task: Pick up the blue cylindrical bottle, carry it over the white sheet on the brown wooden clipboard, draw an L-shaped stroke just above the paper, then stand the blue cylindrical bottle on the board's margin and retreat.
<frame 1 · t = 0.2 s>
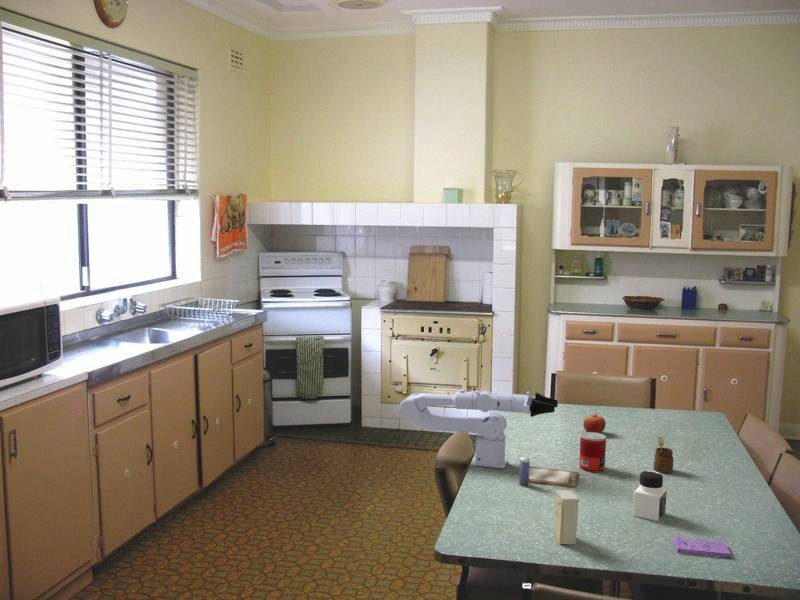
hand: (556, 406, 249), 21 cm above the table, tool horizontal, fingers open, 7 cm apart
medicine bottle: (649, 515, 218), on the table
skincare box: (564, 540, 201), on the table
apple: (594, 434, 293), on the table
blue cylindrical bottle: (523, 484, 239), on the table
sponges: (701, 552, 197), on the table
utensil holder: (662, 471, 254), on the table
canned food: (591, 469, 255), on the table
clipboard: (550, 477, 246), on the table
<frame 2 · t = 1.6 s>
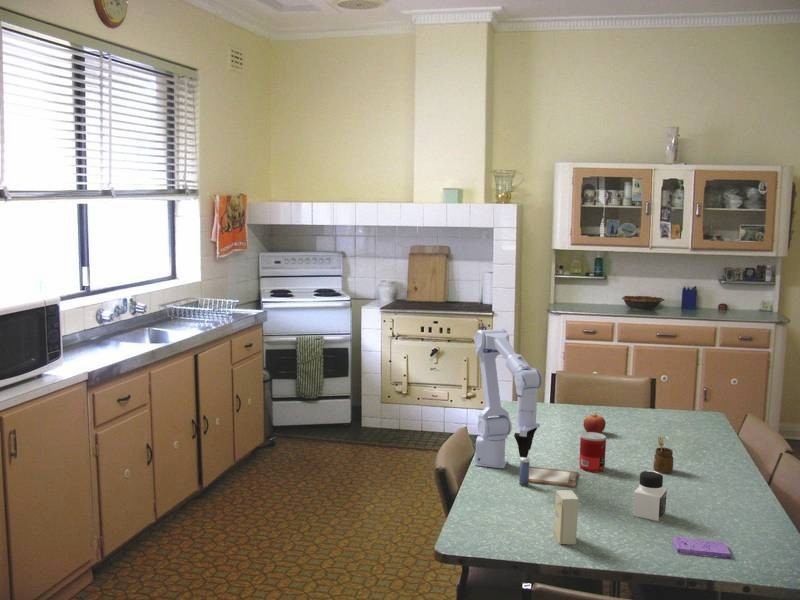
hand: (525, 453, 238), 10 cm above the table, tool pointing down, fingers open, 7 cm apart
nothing on the table moved.
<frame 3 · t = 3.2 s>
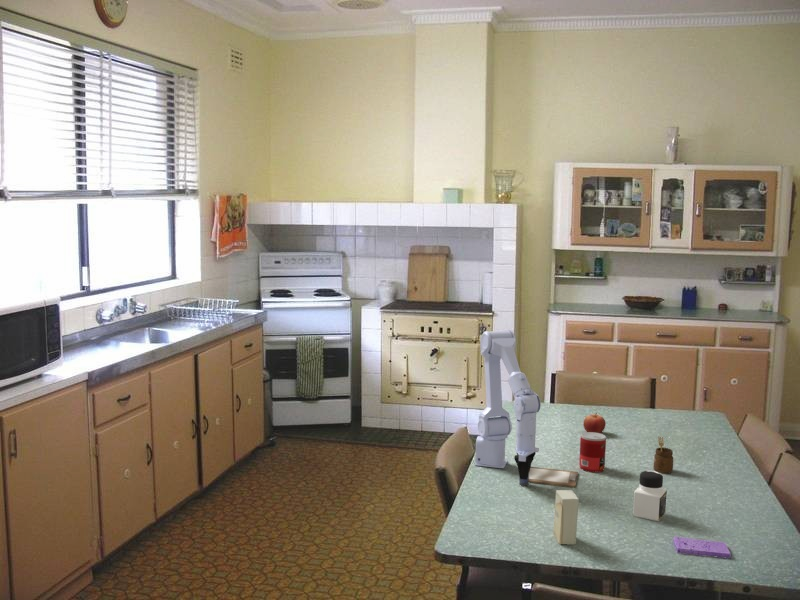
hand: (524, 477, 239), 2 cm above the table, tool pointing down, fingers closed on blue cylindrical bottle, 3 cm apart
blue cylindrical bottle: (523, 484, 239), on the table, touching gripper
everything else where it was.
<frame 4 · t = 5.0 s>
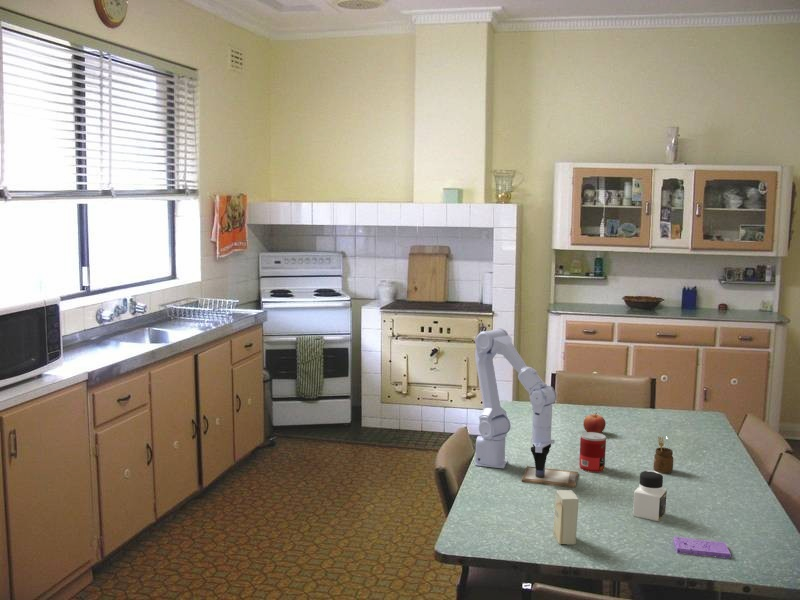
hand: (540, 468, 244), 3 cm above the table, tool pointing down, fingers closed on blue cylindrical bottle, 3 cm apart
blue cylindrical bottle: (540, 476, 245), point 1 cm above the table, touching gripper
everything else where it was.
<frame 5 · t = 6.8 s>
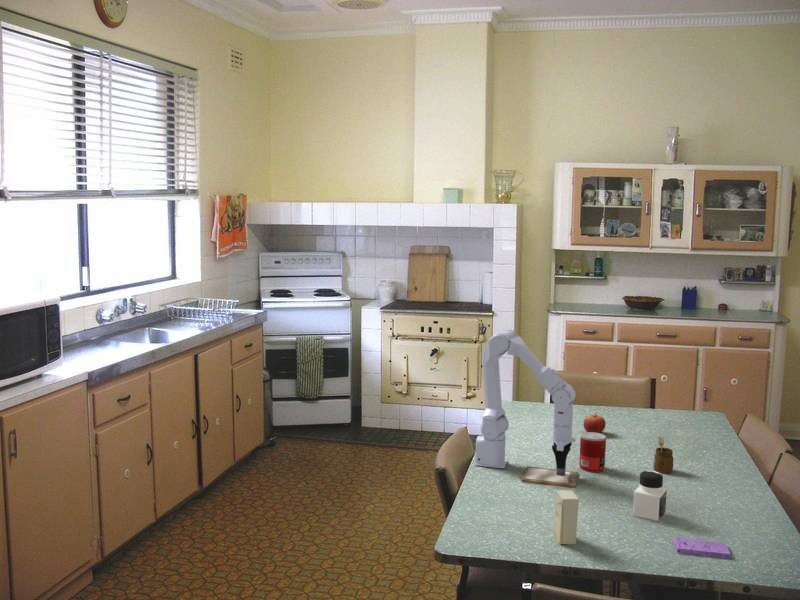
hand: (560, 466, 247), 3 cm above the table, tool pointing down, fingers closed on blue cylindrical bottle, 3 cm apart
blue cylindrical bottle: (560, 474, 247), point 1 cm above the table, touching gripper
everything else where it was.
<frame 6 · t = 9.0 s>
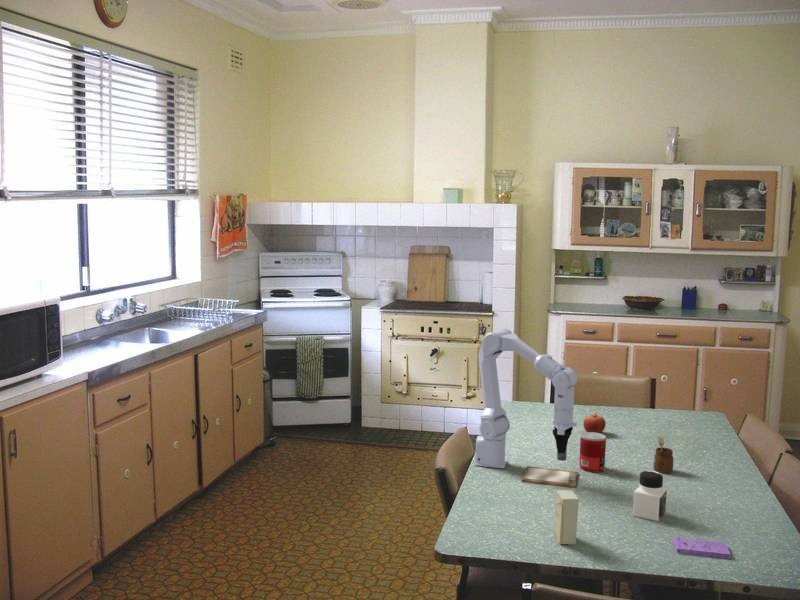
hand: (561, 451, 242), 9 cm above the table, tool pointing down, fingers closed on blue cylindrical bottle, 3 cm apart
blue cylindrical bottle: (561, 459, 242), point 7 cm above the table, touching gripper
everything else where it was.
when the fingers open (3 cm above the table, at t = 10.8 s): blue cylindrical bottle stays where it is, resting on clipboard.
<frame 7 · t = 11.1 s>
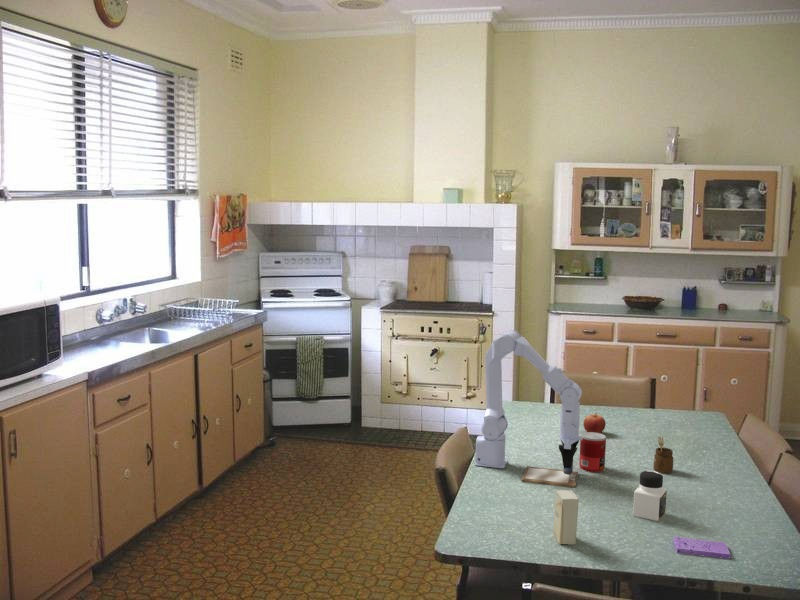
hand: (568, 464, 248), 3 cm above the table, tool pointing down, fingers open, 6 cm apart
blue cylindrical bottle: (567, 473, 248), point 1 cm above the table, touching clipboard
everything else where it was.
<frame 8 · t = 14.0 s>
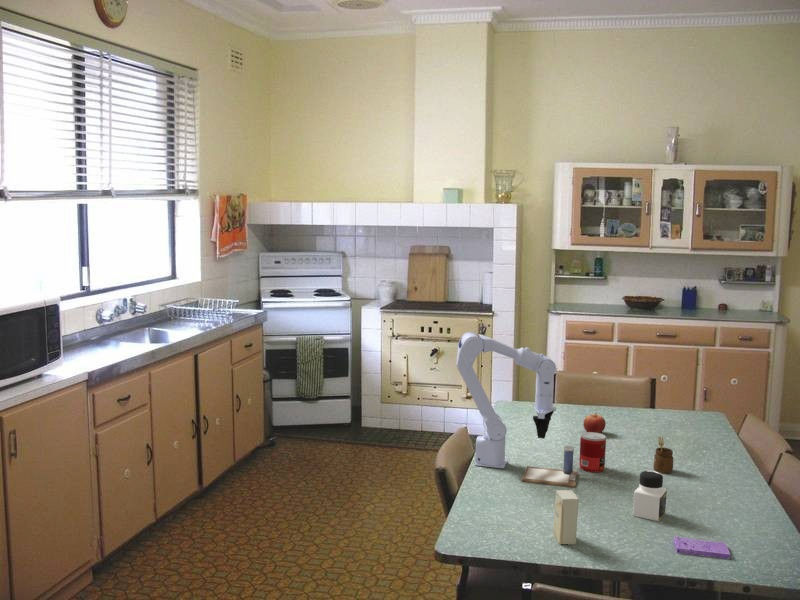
hand: (542, 434, 257), 10 cm above the table, tool pointing down, fingers open, 7 cm apart
nothing on the table moved.
at the end: blue cylindrical bottle inside the target area on the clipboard (6.5 cm from its centre), point 0.7 cm above the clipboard's base; blue cylindrical bottle moved 17.8 cm from its start; the gripper is holding nothing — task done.
